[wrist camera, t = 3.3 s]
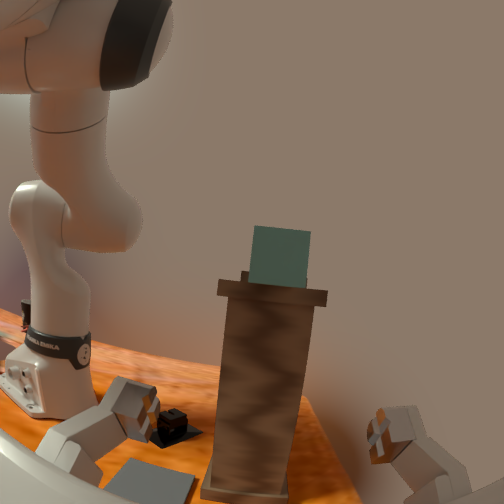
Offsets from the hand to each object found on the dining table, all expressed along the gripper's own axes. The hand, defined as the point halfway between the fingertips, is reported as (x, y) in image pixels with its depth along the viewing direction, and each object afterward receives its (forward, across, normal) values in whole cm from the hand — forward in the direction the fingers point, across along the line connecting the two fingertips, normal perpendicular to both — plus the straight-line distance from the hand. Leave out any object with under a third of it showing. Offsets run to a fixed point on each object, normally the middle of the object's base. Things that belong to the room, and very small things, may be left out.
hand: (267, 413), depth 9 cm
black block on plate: (+16, +13, +35) cm, 41 cm away
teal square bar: (+19, 0, +6) cm, 20 cm away
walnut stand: (+9, 0, +31) cm, 32 cm away
